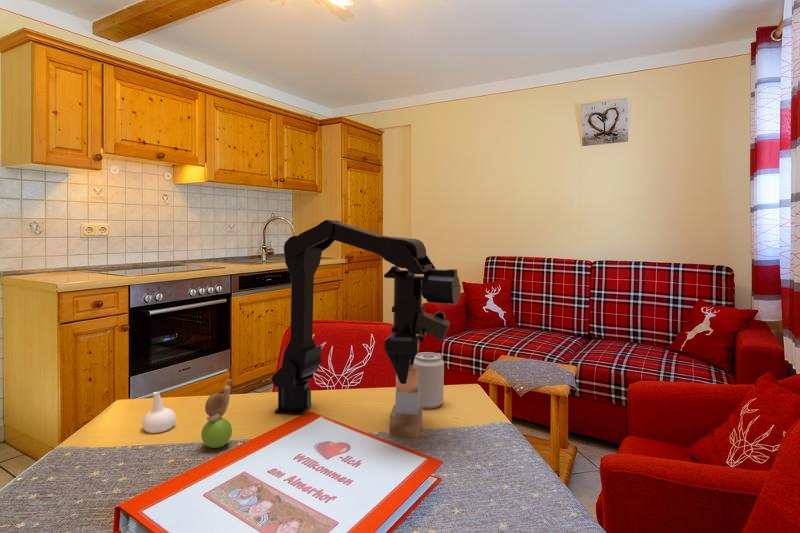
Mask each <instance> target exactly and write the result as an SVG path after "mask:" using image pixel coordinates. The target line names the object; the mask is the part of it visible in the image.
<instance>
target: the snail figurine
mask: <svg viewBox="0 0 800 533" xmlns="http://www.w3.org/2000/svg"><path fill="white" fill-rule="evenodd" d="M225 382H226V385H225V386H224V387H223V394H222V393H221V392H214V393H212V394H211V395H209V397H208V398H207V400H206V401H205V404H204V405H205V406H204V410H205V414H206V415H207V417H206V420H207V422H206V423H205V424H204V425H203V427H202V429H201V435H200V436H201V441H202V442H203V444H204V445H206V446H207V447H208V448H211V449H219V448H221V447H224V446H225V445H227V443H228V442H229V441H230V440H231V438H232V435H233V427H232V424H231V423H230V422H229V421H228V420H227V419H226V418H223V416H224V415H225V414H226V413H227V410H228V408H229V407H228V406H229V404H230V399H231V398H230V397H231V396H230V393H231V390H232V387H231V385H230V384H228V382H229V383H231V382H232V379H231V378H230V379H229V378H226V379H225Z"/></svg>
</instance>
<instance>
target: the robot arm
mask: <svg viewBox="0 0 800 533" xmlns="http://www.w3.org/2000/svg"><path fill="white" fill-rule="evenodd" d="M335 241H336V242H339V243H342V244H345V245H347V246H352V247H355V248H357V249H358V248H359V249H362V250H365V251H368V252H371V253H374V254H376V255H378V256H379V257H381V258H382V259H383V260H384V261H386V262H388V263H390V264H391V265H393V266H391V268H389V270H388V271H387V272H386V273H384V274H383V277H384V278H385V279H393V305H392V307H391V313H393V325H392V326H391V334H390V335H389V336H388V337H386V339H385V340H384V350H383V351H384V352H386V353H385V354H386V355H387V356H388V359H389V361H390V362H391V364H392V367H393V369H394V372H395V375H396V374H397V376H398V379H399V381H400V383H401V384H406V382H407V377H408V372H409V367H410V365H413V364H414V359H415V358H416V355H417V354H418V353H419V352H420V351H419V350H420V344H421V342H423V341H424V339H425V338H426V335H427V334H428V335H430V336H431V337H435V338H436V339H437V340H440V341H444V340H445V338H446V335H447V332H448V331H449V327H450V325H451V323H450V321H449V320H446V314H445V312H442V311H440V310H438V311H436V313H434V314H433V313H427V312H425V306H424V304H423V299H424V300H426V302H427V303H431V304H432V303H433V304H443V305H444V304H445V305H454V306H455V305H457V304H458V303H459V301H460V297H461V292H462V291H461V289H462V287H461V286H462V285H461V282H460V278H459V276H458V269H456V268H454V269H453V268H451V269H437V268H436V266H435V265H434V263H433V262H432V261H431V258H430V257H429V256H428V254H427V249H426V247H425V245H424V242H423V241H421V240H420V239H417V238H408V237H397V236H387V235H384V234H383V235H382V234H380V233H377V232H373V231H371V230H366V229H363V228H360V227H357V226H353V225H350V224H347V223H343V222H342V221H339V220H336V219H325V220H323V221H321V222H320V223H318V224H316V226H314V227H311V228H310V229H308V230H305V231H303V232H301V233H299V234H298V235H292V236H290V237H288V239H287V240H286V241H285V242H284V245H283V254H284V255H283V256H284V263H285V266H286V267H287V270H288V272H289V274H290V275H291V283H290V287H291V289H290V290H291V291H290V292H291V294H290V335H289V336H290V339H289V341H288V343H287V345H286V346H285V347H286V348H285V350H284V351H283V356H282V361H281V367H280V368H279V369H278V370H277V371H276V372H275V373H274V374H273V375H272V376H271V381H272V384H273V387H274V388H275V387H276V388H277V405H278V406H277V407H276V408H275V409H274V412H275V414H276V413H279V414H290V415H304V413H305V412H306V411H307V410H308V409H309V408H310V407H311V406H312V389H311V387H310V381H309V380H313V377H314V374H315V373H316V372H317V370H319V368H320V365H321V364H322V363H323V362H322V357H321V354H322V345H316V342H315V340H314V339H313V329H314V328H313V324H314V323H313V322H314V288H315V287H314V284H315V282H314V281H315V280H314V279H315V274H316V272H317V270H318V268H319V266H320V265H321V259H322V254H323V252H324V251H326V250H327V249H329V248H330V247H331V246H332V244H334V242H335Z"/></svg>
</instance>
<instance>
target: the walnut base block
mask: <svg viewBox="0 0 800 533" xmlns="http://www.w3.org/2000/svg"><path fill="white" fill-rule="evenodd" d="M395 405H396V404H394V405H393V406H392V409H391V412H390V413H389V423H388V424H389V431H388V432H389V435H388V436H389V438H391V437H392V438H403V439H415V440H419V439H420V437H421V431H422V428H423V408H422V407H421V406H419V411H418V415H404V414H395Z"/></svg>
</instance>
